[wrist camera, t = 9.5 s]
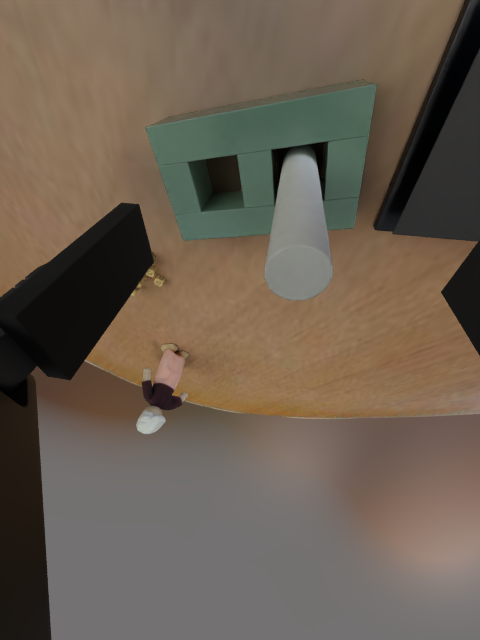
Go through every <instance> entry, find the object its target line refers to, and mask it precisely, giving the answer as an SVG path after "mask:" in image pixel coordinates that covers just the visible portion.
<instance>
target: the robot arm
mask: <svg viewBox="0 0 480 640" xmlns="http://www.w3.org/2000/svg"><path fill="white" fill-rule="evenodd" d="M153 263H154V260H153V256H152V252H151V248H150V244H149V240H148V237H147V233H146V229H145V225H144V221H143V218H142V214H141V210H140V206H139V204H130V203H121V204H119V205H118V206H117V207H116V208H114V209H113V210H112V211H111V212H110V213H108V214H107V215H106V216H105V217H103V218H102V219H101V220H100V221H99V222H97V223H96V224H95V225H94V226H92V227H91V228H90V229H89V230H88V231H86V232H85V233H84V234H83V235H81V236H80V237H79V238H78V239H76V240H75V241H74V242H73V243H72V244H70V245H69V246H68V247H67V248H65V249H64V250H63V251H62V252H61V253H59V254H58V255H57V256H56V257H54V258H53V259H52V260H51V261H50V262H48V263H46V264H44V265H42V266H40V267H38V268H37V269H35V270H34V271H33V272H32V273H30V274H29V275H28V276H27V277H25V280H22V281H20V282H19V283H18V284H17V285H15V288H12V289H10V290H9V291H8V292H7V293H5V294H4V295H3V296H2V297H0V640H51V627H50V611H49V595H48V577H47V561H46V545H45V531H44V530H45V528H44V513H43V495H42V481H41V462H40V446H39V429H38V413H37V397H36V382H35V379H34V377H33V376H32V375H31V374H30V373H31V372H32V371H33V370H34V369H35V367H36V366H38V367H39V368H40V369H41V370H42V371H43V372H44V373H45V374H46V375H47V376H48V377H54V378H61V379H66V380H71V379H72V377H73V376H74V374H75V373H76V372H77V370H78V369H79V367H80V366H81V364H82V363H83V362H84V360H85V359H86V358H87V356H88V355H89V353H90V352H91V350H92V349H93V348H94V346H95V345H96V343H97V342H98V341H99V339H100V338H101V336H102V335H103V334H104V332H105V331H106V329H107V328H108V326H109V325H110V324H111V322H112V321H113V319H114V318H115V317H116V315H117V314H118V312H119V311H120V309H121V308H122V307H123V305H124V304H125V302H126V301H127V300H128V298H129V297H130V295H131V294H132V293H133V291H134V290H135V288H136V287H137V285H138V284H139V283H140V281H141V280H142V278H143V277H144V276H145V274H146V273H147V271H148V270H149V269H150V267H151V266H152V264H153ZM441 293H442V295H443V296H444V298H445V300H446V301H447V303H448V305H449V306H450V308H451V309H452V311H453V313H454V314H455V316H456V318H457V319H458V321H459V323H460V324H461V326H462V328H463V329H464V331H465V332H466V334H467V336H468V337H469V339H470V341H471V342H472V344H473V346H474V347H475V349H476V351H477V352H478V354H479V355H480V240H479V242H478V243H477V244H476V246H475V247H474V248H473V250H472V251H471V252H470V254H469V255H468V256H467V258H466V259H465V261H464V262H463V263H462V265H461V266H460V267H459V269H458V270H457V271H456V273H455V274H454V275H453V277H452V278H451V279H450V281H449V282H448V283H447V285H446V286H445V287H444V289H443V290H442V291H441Z"/></svg>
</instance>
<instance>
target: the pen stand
mask: <svg viewBox="0 0 480 640" xmlns="http://www.w3.org/2000/svg"><path fill="white" fill-rule="evenodd" d="M376 87H377V84H374V83H372V82H369V81H366V80H364V79H362V80H357V81H352V82H347V83H342V84H336V85H331V86H326V87H321V88H316V89H310V90H305V91H300V92H295V93H290V94H284V95H279V96H274V97H269V98H264V99H259V100H253V101H248V102H243V103H238V104H233V105H227V106H222V107H217V108H212V109H207V110H201V111H196V112H191V113H186V114H181V115H175V116H170V117H167V118H165V119H162V120H160V121H158V122H156V123H154V124H152V125H149V126H147V127H146V131H147V134H148V137H149V140H150V143H151V146H152V149H153V152H154V155H155V158H156V161H157V164H158V166H159V170H160V173H161V176H162V179H163V182H164V185H165V187H166V190H167V193H168V196H169V199H170V202H171V205H172V208H173V211H174V214H175V217H176V220H177V223H178V226H179V229H180V232H181V235H182V238H183V240H198V239H212V238H226V237H240V236H254V235H268V234H271V229H272V223H273V217H274V211H275V205H276V199H277V194H278V188H279V186H278V177H277V158H276V149H279V148H286V147H293V146H300V145H307V144H313V143H320V142H324V144H323V161H322V179H321V181H320V187H321V193H322V200H323V207H324V213H325V220H326V227H327V230H338V229H352V228H354V226H355V220H356V214H357V207H358V201H359V195H360V188H361V182H362V176H363V169H364V163H365V157H366V150H367V144H368V138H369V136H368V135H369V131H370V125H371V119H372V112H373V106H374V100H375V93H376ZM231 155H237V159H238V166H239V173H240V179H241V186H242V190H239V191H230V192H221V193H213V191H212V186H211V182H210V177H209V173H208V168H207V164H206V159H211V158H218V157H224V156H231Z"/></svg>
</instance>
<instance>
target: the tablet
mask: <svg viewBox="0 0 480 640" xmlns="http://www.w3.org/2000/svg"><path fill="white" fill-rule="evenodd" d="M479 49H480V0H465V2H464V5H463V7H462V10H461V12H460V15H459V17H458V19H457V22H456V24H455V27H454V29H453V32H452V34H451V37H450V39H449V42H448V44H447V47H446V49H445V51H444V54H443V56H442V59H441V61H440V64H439V66H438V69H437V71H436V74H435V76H434V79H433V81H432V83H431V86H430V88H429V91H428V93H427V96H426V98H425V101H424V103H423V106H422V108H421V111H420V113H419V115H418V118H417V120H416V123H415V125H414V128H413V130H412V133H411V135H410V138H409V140H408V143H407V145H406V147H405V150H404V152H403V155H402V157H401V160H400V162H399V165H398V167H397V170H396V172H395V175H394V177H393V179H392V182H391V184H390V187H389V189H388V192H387V194H386V197H385V199H384V202H383V204H382V207H381V209H380V211H379V214H378V216H377V219H376V221H375V224H374V229H375V230H381V231H394V229H395V227H396V225H397V222H398V220H399V218H400V216H401V214H402V212H403V210H404V208H405V205H406V203H407V201H408V199H409V197H410V195H411V193H412V191H413V189H414V186H415V184H416V182H417V180H418V178H419V176H420V174H421V172H422V169H423V167H424V165H425V163H426V161H427V159H428V157H429V155H430V152H431V150H432V148H433V146H434V144H435V142H436V140H437V138H438V135H439V133H440V131H441V129H442V127H443V125H444V123H445V121H446V119H447V116H448V114H449V112H450V110H451V108H452V106H453V104H454V102H455V99H456V97H457V95H458V93H459V91H460V89H461V87H462V85H463V82H464V80H465V78H466V76H467V74H468V72H469V70H470V68H471V65H472V63H473V61H474V59H475V57H476V55H477V53H478V51H479Z"/></svg>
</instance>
